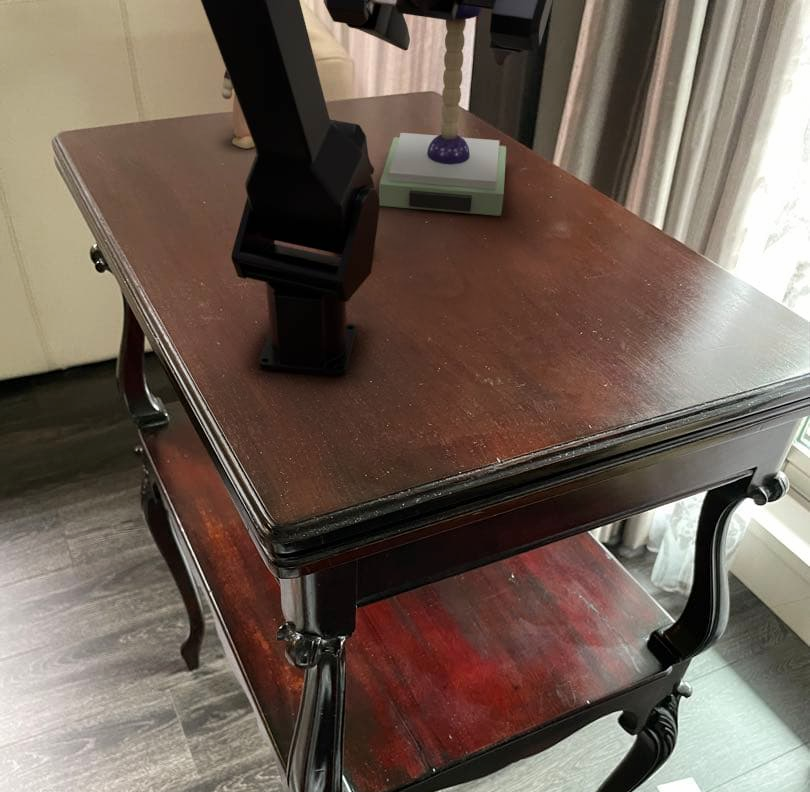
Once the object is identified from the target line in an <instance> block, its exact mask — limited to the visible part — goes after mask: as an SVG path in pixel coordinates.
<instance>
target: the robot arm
mask: <svg viewBox="0 0 810 792" xmlns="http://www.w3.org/2000/svg"><path fill="white" fill-rule="evenodd" d="M200 3H201V5H202V7H203V11H204V14H205V16H206V19H207V21H208V25H209V27H210V30H211V34H212V35H213V38H214V41H215V43H216V46H217V49H218V51H219V54H220V56H221V60H222V63H223V65H224V67H225V71H226V70H227V73H228V76H229V78H230V81H231V84H232V86H233V89H232V90H233V91H234V95H235V94H236V97H237V100H238V102H239V105H240V108H241V110H242V113H243V116H244V119H245V121H246V124H247V127H248V129H249V132H250V135H251V137H252V140H253V143H254V146H255V147H254V150H255V156H254V159H253V161H252V164H251V167H250V170H249V172H248V174H247V178H246V180H245V182H244V189H245V192H246V195H247V196H246V201H245V204H244V207H243V210H242V211H243V212H242V215H241V218H240V222H239V225H238V230H237V233H236V236H235V240H234V243H233V246H232V247H233V248H232V251H231V256H230V257H231V258H230V259H231V262H232V265H233V267H234V270H235V272H236V275H237V277H238V278H240V279H249V280H255V281H258V282H263V283H265V290H266V301H267V311H268V322H269V323H268V324H269V334H268V336H267V338H266V341H265V343H264V346H263V348H262V351H261V353H260V356H259V358H258V367H259V368H260V369H262V370H263V369H264V370H271V371H282V372H293V373H302V374H315V375H323V376H335V377H340V376H341V377H342V376H344V375H346V373H347V369H348V366H349V362H350V360H351V359H350V358H351V356H352V355H351V354H352V352H353V347H354V344H355V340H356V337H357V331H358V330H357V329H358V327H357V326H356V325H355V324H351V323H347V303H348V302H349V300H350V299H351V298H352V297H353V296H354V295H355V293H356V292H357V291H358V290H359V288H361V286H362V285H363V284H364V282H365V281H366V280H367V279H368V278H369V276H370V275H371V274H372V269H373V261H374V253H375V248H376V247H375V246H376V239H377V232H378V225H379V218H380V207H381V206H380V202H379V191H378V190H377V189H376V188H375V183H374V180H373V176H372V175H373V174H374V173H375V168H374V166H373V164H372V162H371V160H370V157H369V156H370V155H369V150H368V142H367V136H366V133H365V132H364V130H363V129H362V127H361V125H360V124H359V123H352V122H347V121H346V122H345V121H342V120H341V121H340V120H336V119H331V118H330V115H329V111H328V108H327V107H328V106H327V103H326V99H325V95H324V91H323V87H322V83H321V80H320V76H319V71H318V68H317V63H316V60H315V56H314V52H313V48H312V44H311V40H310V36H309V32H308V28H307V24H306V20H305V16H304V13H303V8H302V4H301V0H200ZM323 4H324V6H325V8H326V11H327V12H328V15H329V16H330V18H331V20H332V22H333V23H339V24H345V25H346V26H347V28H350V29H356V30H358V31H361V32H363V33H365V34H367V35H370V36H372V37H375V38H377V39H379V40H381V41H383V42H386V43H387V44H389V45H392V46H394V47H396V48H398V49H400V50H402V51H408V50H409V46H410V42H411V37H410V32H409V27H408V24H407V21H406V19H405V15H409V16H415V17H422V18H430V19H437V20H443V21H446V20H449V21H454V18H455V15H456V11H457V8H458V7H460V6H461V5H464V6H471V7H478V8H482V9H485V10H491V14H490V15H491V16H490V17H491V18H490V25H489V36H490V44H489V49H490V51H491V54H492V57H493V60H494V62H495V63H496V64H497V65H498V66H503V65H504V62H505V61H506V58H507V57H508V56H510V55H511V54H512V53H513V54H514V53H516V54H521V53H522V52H524V51H527V52H533V51H535V50H536V49H537V48H539V47H540V46H541V43H542V39H543V36H544V33H545V29H546V26H547V22H548V18H549V15H550V11H551V8H552V4H553V0H323ZM276 242H281V243H285V244H291V245H294V246H300V247H304V248H309V249H314V250H316V251H317V250H318V251H322V252H327V253H331V254H336V255H340V256H341V257H337V256H332V255H328V254H323V253H319V252H314V251H310V250H306V249H301V248H296V247H292V246H286V245H282V244H277V243H276Z"/></svg>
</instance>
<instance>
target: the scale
mask: <svg viewBox="0 0 810 792" xmlns="http://www.w3.org/2000/svg"><path fill="white" fill-rule="evenodd" d="M437 136H438V135H436V134H435V135H434V134H422V133H411V132H410V133H408V132H400V133H399V137H396V136H395V137H393V139H392V142H391V144H390V148H389V152H388V155H387V158H386V161H385V165H384V167H383V171H382V174H381V177H380V181H379V184H378V185H379V186H378V195H379V202H380V206H379V207H391V208H399V209H401V208H402V209H413V210H425V211H426V210H427V211H436V212H437V211H438V212H451V213H460V214H461V213H463V214H473V215H484V216H495V217H496V216H497V217H501V216H502V211H503V203H504V195H505V181H506V180H505V179H506V177H505V176H506V159H507V146H506V145H500V143H501V142H500V140H498V139H485V138H484V139H483V138H473V137H472V138H471V137H462V138H463V139H464V140H465V141H466V143H467V145H468V147H469V153H470V156H469V158H468V159H467V160H466V161H464V162H462V163H457V164H444V163H439V162H436V161H433V160H432V159H430V158H429V157H428V155H427V152H428V147H429V145H430V143H431V142H432V140H433V139H434V138H436V137H437Z"/></svg>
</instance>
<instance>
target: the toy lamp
mask: <svg viewBox="0 0 810 792" xmlns="http://www.w3.org/2000/svg"><path fill="white" fill-rule="evenodd" d="M482 10H483V8H478V7H471V6H464V5H461V6H460V7H458V8H457V11H456V15H455V18H454V21H449V20H445V28H446V31H447V32H446V34H445V38H444V47H445V50H446V51H445V53H444V56H443V57H444V58H443V64H444V71H443V75H442V81H443V86H444V87H443V89H442V93H441V97H442V98H441V99H442V103H443V104H442V107H441V112H440V113H441V114H440V115H441V119H442V121H441V124H440V134H438V135H436V136H437V137H436V138H434V139H433V140H432V142H431V143H430V145H429V147H428V152H427V155H428V157H429V158H430V159H432V160H433V161H436V162H439V163H444V164H457V163H462V162H464V161H466V160H467V159H468V158H469V156H470V153H469V147H468V145H467V143H466V141H465V140H464V139H463V138H464V137H462V136H460V135H458V134H459V129H460V124H459V121H458V120H459V118H460V115H461V108H460V104H459V103H460V102H461V99H462V91H461V85H462V83H463V71H462V67H463V65H464V53H463V49H464V47H465V40H466V39H465V34H464V31H465V28H466V23H467V20H470V19H474V18H476V17H478V16H479V15H481V13H482Z"/></svg>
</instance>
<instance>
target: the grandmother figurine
mask: <svg viewBox="0 0 810 792" xmlns="http://www.w3.org/2000/svg"><path fill="white" fill-rule="evenodd" d="M222 87H223V89H222V90H221V97H222V98H223V99H225V100H230V99H231V98H232V96H233V102H232V123H233V134H234V135H235V137H233V139H232V145H234V146H236V147H238V148H240V149H244V150H245V149H253V148H255V146H254V143H253V140H252V137H251V135H250V132H249V129H248V127H247V124H246V121H245V119H244V116H243V113H242V110H241V108H240V105H239V102H238V100H237V97H236V94H235V93H234V94H233V90H234V89H233V86H232V84H231V81H230V78H229V76H228V73H227V70H226V69H225V71H224V74H223V86H222Z"/></svg>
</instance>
